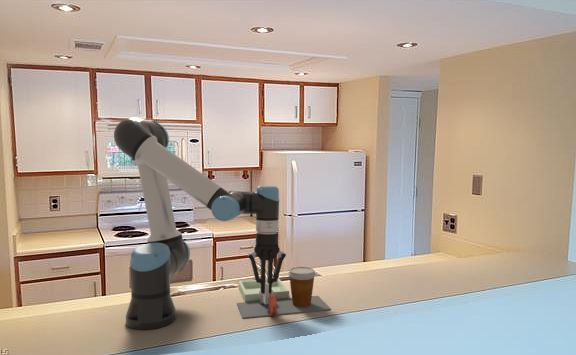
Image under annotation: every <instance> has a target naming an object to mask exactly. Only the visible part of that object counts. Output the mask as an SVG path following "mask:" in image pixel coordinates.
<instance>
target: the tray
mask: <svg viewBox="0 0 576 355" xmlns="http://www.w3.org/2000/svg"><path fill="white" fill-rule="evenodd" d="M265 282H267V278H265ZM238 290H239V292H240V294H241V297H242V299H243V302H244V301H245V302H252V301H259V291H260V290H261V283H257V282H256V280H255V279H254V280H253V279H251V280H239V281H238ZM272 290H273V295H276V296H277V299H286V298H290V290H289V289H288V288H287V286H286V285H285V284H284V283H283V281H282V280H281V279H280V278H279V277H278V280H277V282H273V284H272Z"/></svg>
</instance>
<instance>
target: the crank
mask: <svg viewBox="0 0 576 355" xmlns="http://www.w3.org/2000/svg"><path fill="white" fill-rule="evenodd" d="M266 307H267V308H268V310H269V315H270V316H269V317H275V316H278V315H277V296H276V295H271V293H269V298H268V304H266Z"/></svg>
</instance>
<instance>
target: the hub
mask: <svg viewBox="0 0 576 355" xmlns="http://www.w3.org/2000/svg"><path fill="white" fill-rule="evenodd" d="M271 295H273V290H272V292H271ZM263 299H264V294H262V293H261V290H260V291H259V304H260V305H266V304H265V303H264V302H263Z"/></svg>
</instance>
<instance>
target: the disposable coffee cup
mask: <svg viewBox="0 0 576 355" xmlns="http://www.w3.org/2000/svg"><path fill="white" fill-rule="evenodd" d="M287 274H288V277H289V284H290V293H291V298H292V302H293V305H294V306H296V307H308V306H310V305H311V298H312V296H313V289H314V280H315V276H316V274H317V273H316V272H315V269H314V268H312V267H308V266H296V267H295V266H293V267H291V268H290V269H289V271H288V272H287Z"/></svg>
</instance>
